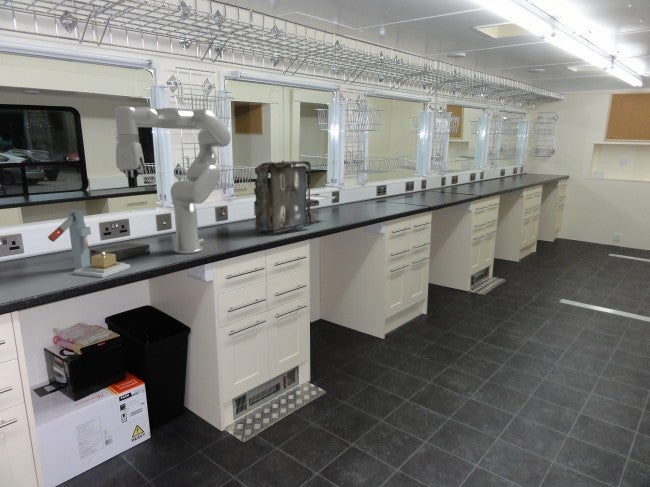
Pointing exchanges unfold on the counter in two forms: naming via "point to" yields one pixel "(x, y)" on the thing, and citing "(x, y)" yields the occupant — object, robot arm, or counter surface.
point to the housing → (103, 261)
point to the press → (86, 250)
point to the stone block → (124, 251)
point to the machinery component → (282, 196)
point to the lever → (62, 228)
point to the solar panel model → (316, 198)
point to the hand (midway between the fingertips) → (133, 187)
